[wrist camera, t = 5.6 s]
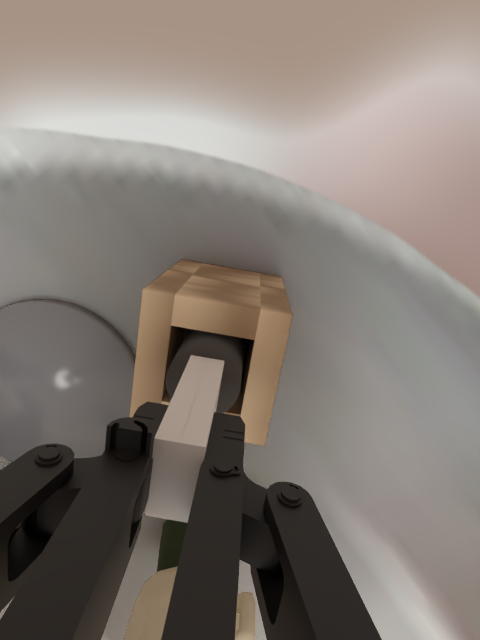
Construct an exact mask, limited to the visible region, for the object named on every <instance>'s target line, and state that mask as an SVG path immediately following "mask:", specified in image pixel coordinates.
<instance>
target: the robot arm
mask: <svg viewBox="0 0 480 640" xmlns="http://www.w3.org/2000/svg"><path fill="white" fill-rule="evenodd" d="M223 367H224V361H223V360H217V359H211V358H205V357H200V356H194V355H191V356H190V359H189V361H188V363H187V365H186V368H185V370H184V372H183V374H182V377H181V379H180V381H179V383H178V386H177V388H176V390H175V393H174V395H173V397H172V399H171V402H170V404H169V405H165V404H160V403H154V402H148V401H147V402H146V403H144V404H142V405H141V406H139V407H138V408H137V410H136V412H135V413H134V416H133V417H125V418H119V419H116V420H114V421H111V422H110V423H109V424H108V425H107V431H106V442H105V451H104V452H103V454H102V455H100V456H97V457H90V458H74V452H73V451H72V449H71V448H69V447H67V446H66V445H62V444H44V445H40V446H37V447H35V448H33V449H31V450H29V451H28V452H26V453H25V454H23V455H22V456H20V457H19V458H18V459H16V460H15V461H13V462H12V463H10V464H9V465H8V466H6V467H5V468H3V469H2V470H0V612H1V610H2V609H3V608H4V607H5V606H6V605H7V604H8V603H9V602H10V601H11V600H12V598H13V597H14V596H15V597H14V599H13V600H12V602H11V603H10V605H9V607H8V608H7V610H6V612H5V613H4V615H3V617H2V618H1V620H0V640H101V638H102V635H103V632H104V629H105V627H106V624H107V621H108V618H109V615H110V613H111V610H112V607H113V604H114V601H115V599H116V596H117V593H118V590H119V587H120V585H121V582H122V579H123V576H124V574H125V571H126V568H127V565H128V562H129V560H130V557H131V554H132V551H133V548H134V546H135V543H136V540H137V537H138V534H139V532H140V528H141V520H142V514H143V511H144V509H145V506H146V510H145V516H151V517H157V518H163V519H168V520H174V521H180V522H186V523H187V527H186V532H185V536H184V541H183V545H182V550H181V554H180V558H179V563H178V567H177V572H176V576H175V580H174V585H173V589H172V594H171V598H170V603H169V607H168V611H167V616H166V620H165V625H164V629H163V633H162V638H161V640H235V628H236V611H237V593H238V576H239V559H240V560H242V561H244V562H246V563H248V564H250V565H251V575H252V579H253V583H254V587H255V592H256V596H257V600H258V604H259V608H260V612H261V617H262V621H263V625H264V629H265V633H266V638H267V640H381V638H380V635H379V633H378V631H377V629H376V627H375V625H374V623H373V621H372V619H371V617H370V615H369V613H368V611H367V609H366V607H365V605H364V603H363V601H362V599H361V597H360V595H359V593H358V591H357V589H356V586H355V584H354V582H353V580H352V578H351V576H350V574H349V572H348V570H347V568H346V566H345V564H344V562H343V560H342V558H341V556H340V554H339V552H338V550H337V548H336V546H335V544H334V542H333V540H332V538H331V535H330V533H329V531H328V529H327V527H326V525H325V523H324V521H323V519H322V517H321V515H320V513H319V511H318V509H317V507H316V505H315V503H314V501H313V499H312V497H311V496H310V494H309V493H308V492H307V491H306V490H305V489H303V488H302V487H301V486H298V485H296V484H293V483H289V482H277V483H274V484H272V485H271V486H270V487H269V488H268V489H266V488H263V487H261V486H259V485H257V484H255V483H254V482H252V481H251V480H250V479H249V478H248V477H247V476H246V475H245V473H244V470H243V455H244V439H245V423H244V422H243V420H242V418H241V417H240V416H235V415H229V414H223V413H217V412H216V409H217V403H218V397H219V391H220V385H221V379H222V373H223Z"/></svg>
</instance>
